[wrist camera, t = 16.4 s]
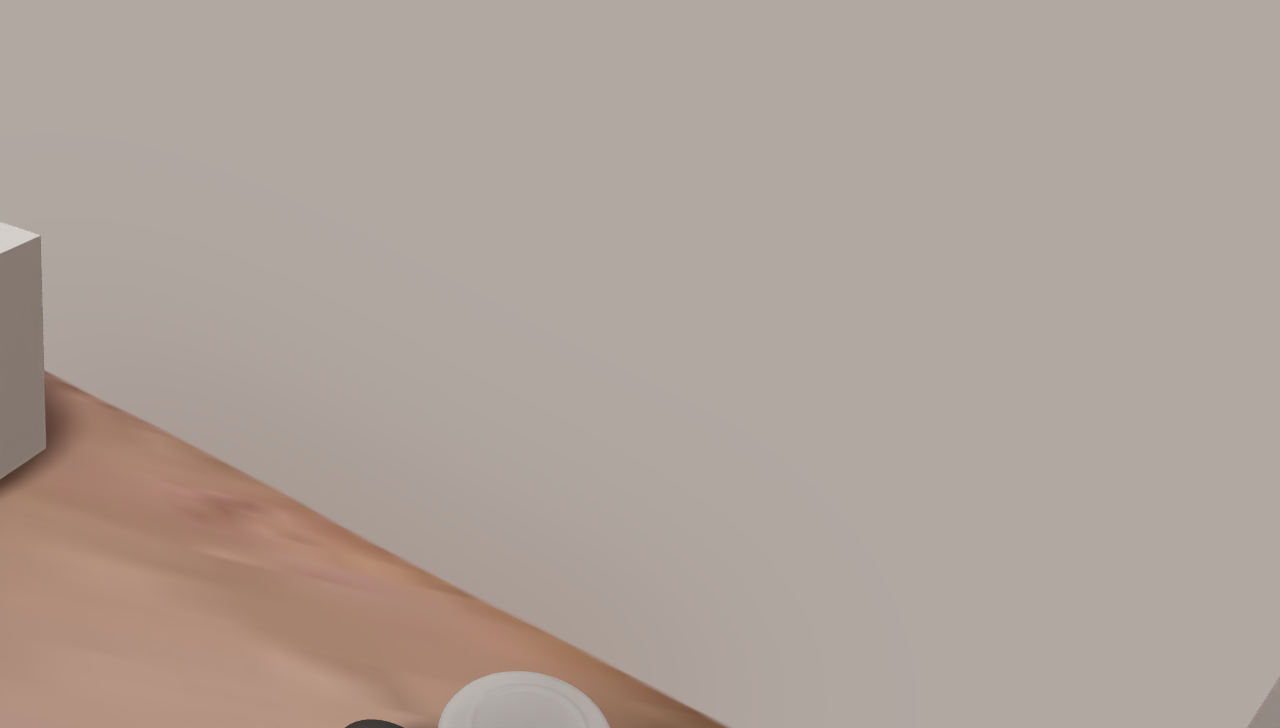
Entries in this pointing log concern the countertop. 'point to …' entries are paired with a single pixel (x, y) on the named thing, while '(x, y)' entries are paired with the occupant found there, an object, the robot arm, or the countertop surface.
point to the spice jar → (521, 704)
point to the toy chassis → (373, 724)
